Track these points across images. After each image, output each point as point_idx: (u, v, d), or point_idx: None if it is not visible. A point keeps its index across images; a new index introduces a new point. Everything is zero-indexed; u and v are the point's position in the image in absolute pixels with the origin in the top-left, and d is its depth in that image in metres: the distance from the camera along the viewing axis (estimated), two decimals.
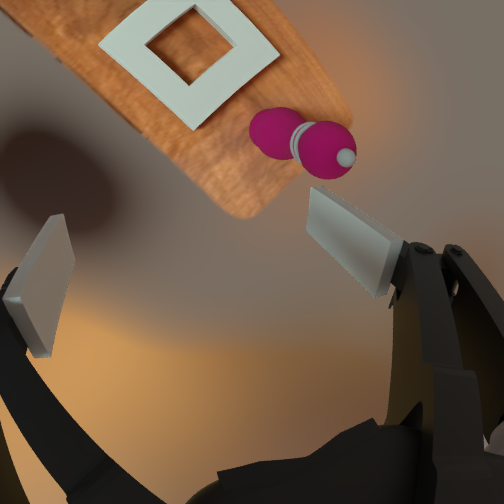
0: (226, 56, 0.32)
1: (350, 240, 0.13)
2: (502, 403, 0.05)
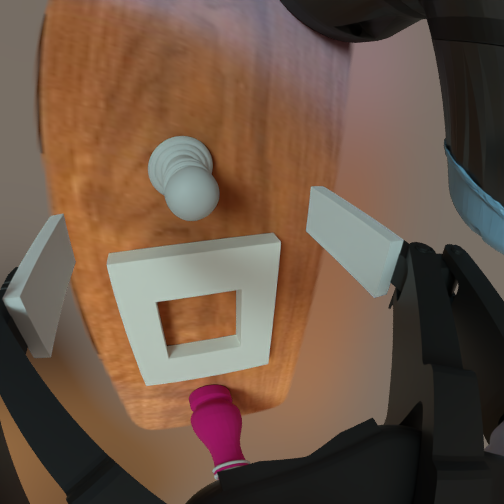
0: (222, 350, 0.33)
1: (350, 240, 0.13)
2: (502, 403, 0.05)
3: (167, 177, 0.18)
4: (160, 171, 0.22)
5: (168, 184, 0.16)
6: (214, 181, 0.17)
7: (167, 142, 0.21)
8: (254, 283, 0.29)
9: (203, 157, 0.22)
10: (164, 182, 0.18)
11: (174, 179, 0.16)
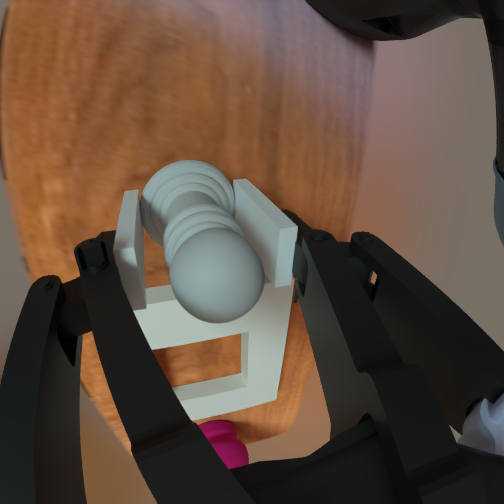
0: (226, 392, 0.29)
1: (256, 230, 0.14)
2: (465, 396, 0.06)
3: (171, 242, 0.11)
4: (158, 216, 0.15)
5: (176, 266, 0.09)
6: (258, 259, 0.10)
7: (167, 170, 0.14)
8: (263, 324, 0.25)
9: (223, 193, 0.15)
10: (167, 249, 0.11)
11: (187, 260, 0.09)
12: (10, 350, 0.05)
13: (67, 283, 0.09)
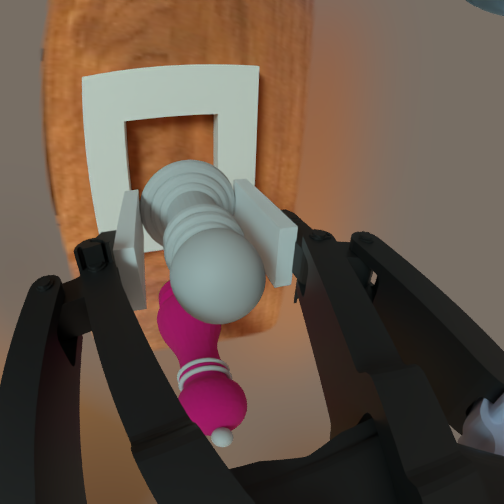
0: None
1: (256, 230, 0.14)
2: (465, 396, 0.06)
3: (172, 242, 0.11)
4: (158, 216, 0.15)
5: (176, 267, 0.09)
6: (259, 260, 0.10)
7: (167, 170, 0.14)
8: (232, 109, 0.25)
9: (223, 193, 0.15)
10: (167, 250, 0.11)
11: (187, 260, 0.09)
12: (10, 350, 0.05)
13: (67, 283, 0.09)
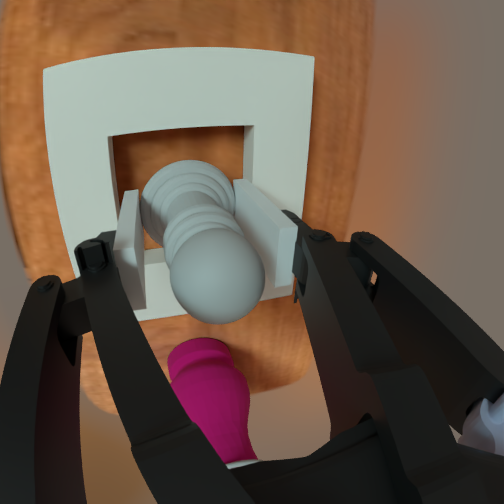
0: None
1: (256, 230, 0.14)
2: (465, 396, 0.06)
3: (172, 242, 0.11)
4: (158, 216, 0.15)
5: (176, 267, 0.09)
6: (259, 260, 0.10)
7: (167, 170, 0.14)
8: (275, 118, 0.17)
9: (223, 193, 0.15)
10: (167, 250, 0.11)
11: (187, 260, 0.09)
12: (10, 350, 0.05)
13: (67, 283, 0.09)
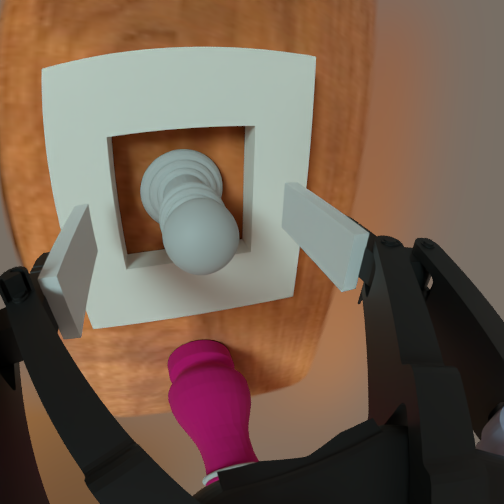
0: None
1: (319, 234, 0.13)
2: (490, 399, 0.05)
3: (165, 211, 0.13)
4: (156, 196, 0.17)
5: (167, 226, 0.12)
6: (233, 221, 0.12)
7: (164, 158, 0.17)
8: (276, 119, 0.16)
9: (211, 177, 0.18)
10: (161, 218, 0.13)
11: (175, 220, 0.11)
12: None
13: None
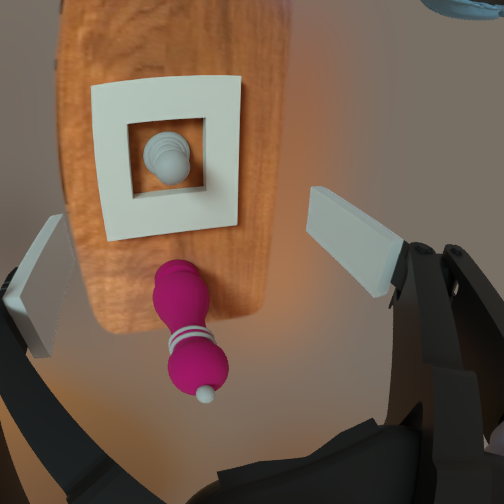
0: (187, 194, 0.33)
1: (350, 240, 0.13)
2: (502, 403, 0.05)
3: (156, 158, 0.26)
4: (152, 156, 0.30)
5: (156, 161, 0.25)
6: (186, 158, 0.25)
7: (157, 136, 0.30)
8: (218, 113, 0.29)
9: (182, 146, 0.31)
10: (154, 161, 0.26)
11: (160, 157, 0.24)
12: None
13: None
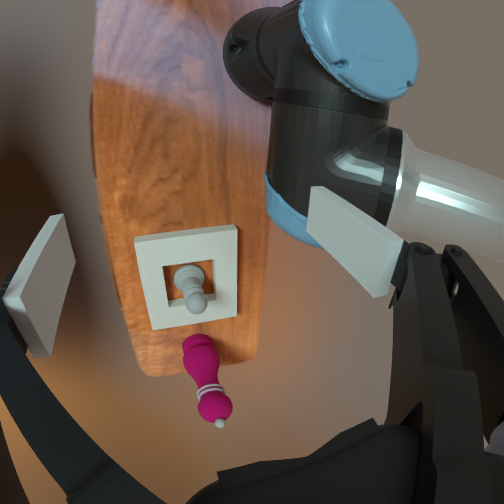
0: None
1: (350, 240, 0.13)
2: (502, 403, 0.05)
3: (185, 294, 0.45)
4: (180, 282, 0.48)
5: (187, 302, 0.43)
6: (205, 300, 0.44)
7: (182, 269, 0.48)
8: (222, 255, 0.48)
9: (199, 275, 0.49)
10: (184, 296, 0.45)
11: (189, 300, 0.43)
12: None
13: None
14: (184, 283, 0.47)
